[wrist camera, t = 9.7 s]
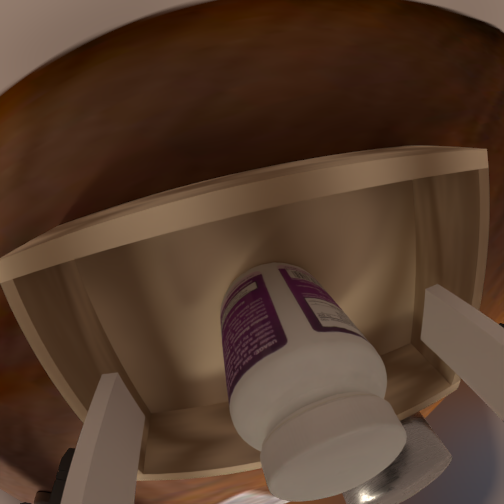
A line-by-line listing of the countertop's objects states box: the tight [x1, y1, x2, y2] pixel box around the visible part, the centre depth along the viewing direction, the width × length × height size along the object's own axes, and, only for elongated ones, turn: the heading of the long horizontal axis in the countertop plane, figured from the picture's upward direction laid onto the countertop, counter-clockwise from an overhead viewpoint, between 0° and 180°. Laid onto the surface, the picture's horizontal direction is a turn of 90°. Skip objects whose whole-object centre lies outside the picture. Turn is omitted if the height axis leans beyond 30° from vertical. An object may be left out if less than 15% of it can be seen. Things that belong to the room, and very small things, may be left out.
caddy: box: [0, 145, 490, 480], centre depth 13 cm, size 20×14×6 cm
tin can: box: [343, 411, 452, 504], centre depth 15 cm, size 7×7×9 cm
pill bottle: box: [220, 262, 407, 501], centre depth 10 cm, size 5×5×10 cm
